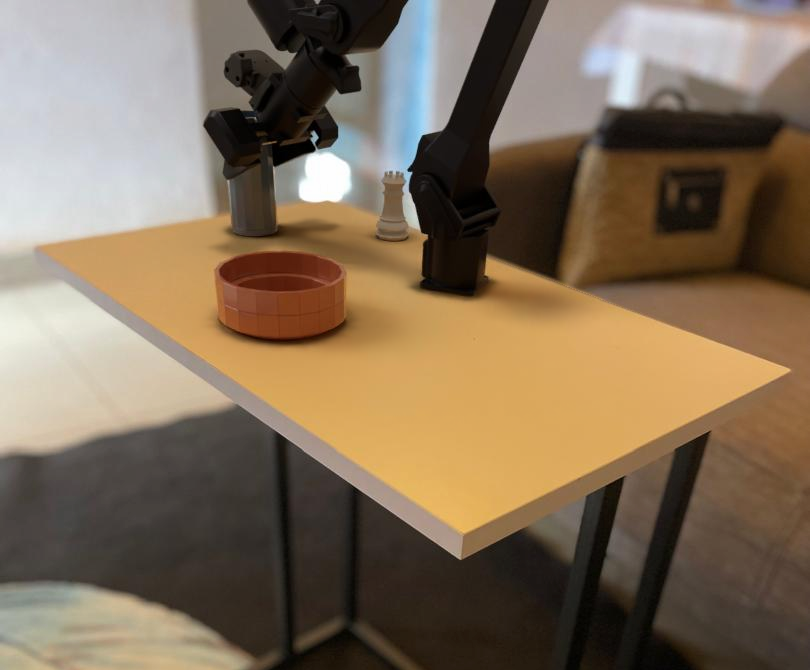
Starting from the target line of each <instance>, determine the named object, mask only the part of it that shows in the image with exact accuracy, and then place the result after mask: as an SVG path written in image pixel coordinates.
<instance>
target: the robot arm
mask: <svg viewBox="0 0 810 670" xmlns="http://www.w3.org/2000/svg"><path fill="white" fill-rule="evenodd" d="M246 1H247V2H246V3H247V5H248V7H249V9H250V11H251V13H253V15H254V17H255V18H256V20H257V22H258V23H259V25H260V26H261V28H262V29H263V31H264V32H265V34H266V36H267V38H268V39H269V41H270V42H271V44H272V45H273V47H274V48H275V50H277V51H278V52H286V51H287V52H288V53H289V54H295V55H294V56H293V58H292V59H291V60H290V62H289V63H288V65H287V66H286V68H284V67H283V66H281V65H280V64H279V63H278V62H277V61H276V60H274V58H272V57H271V56H270V55H269V54H268V53H266V52H265V51H263V50H261V49H246V50H237V51H236V52H231V53H230V55H229V57H228V58H227V60H225V61H224V68H223V75H224V78H225V79H226V80H227V82H229V83H231V84H232V86H233V87H235V88H241V89H242V90H243V91H244V92H245V93H247V95H249V96H250V99H249V100H248V104H249V106H250V107H251V110H254V111H257V112H258V116H256V117H255V118H254V120H255V121H256V123H252V124H249V122H248V121H247V119H246V118H245V116H244V115H243V113H242V111H241V110H242V109H240V108H239V107H235V106H229V107H222V108H214V109H210V111H209V112H208V114H207V115H206V117H205V118H204V120H203V123H202V127H203V128H204V129H205V131H206V133H207V134H208V136H209V137H210V139H211V141H212V142H213V144H214V145H215V147H216V149H217V150H218V152H219V153H220V154H221V156H222V158H223V159H224V160H223V167H222V175H223V177H224V178H225V180H226V181H227V180H230V179H232V178H234V177H236V176H238V175H240V174H242V173H244V172H245V171H247V170H249V169H251V168H253V167H255V166H257V165H259V164H261V161H260V159H259V158H258V157H259V155H260V154H261V150H262V148H263V145H265V144H271V143H273V154H274V169H275V168H278V167H280V166H282V165H285V164H287V163H290V162H292V161H296V160H297V159H300V158H303V157H305V156H308V155H310V154H313V153H315V152H316V151H317V150H318V151H319V150H323V149H329V148H332V146H333V145H334V144H335V142H337V140H338V139H339V125H338V123H337V122H336V121H335V119H334V118H333V116H332V114H331V112H330V111H329V110H328V108H327V106H326V105H327V103H328V102H329V101H330V100H331V98H333V96H334V94H335V93H336V92H337V93H338V94H339V95H348V94H354V93H360V92H361V91H362V79H361V76H360V66H359V65H356V64H355V65H354V64H352V63H351V62H350V60H349V58H348V56H347V55H358V54H366V53H374V52H377V51H378V50H380V49H381V48H382V47H383V45H385V44H386V41H387V40H388V39H389V37H390V36H391V34H392V33H393V32H394V31H395V29H396V27H397V26H398V25H399V22H400V19H401V16H402V12H403V10H404V8H405V7H406V5H407V4H408V3H409V1H410V0H319V1H318V3H317V2H316V0H246ZM549 1H550V0H494V3H493V5H492V8H491V10H490V12H489V15H488V18H487V21H486V23H485V26H484V29H483V31H482V34H481V36H480V39H479V42H478V44H477V46H476V49H475V52H474V54H473V57H472V60H471V62H470V65H469V67H468V70H467V72H466V75H465V78H464V81H463V82H462V85H461V87H460V91H459V93H458V96H457V98H456V101H455V102H454V106H453V109H452V111H451V114H450V116H449V119H448V121H447V123H446V125H445V126H444V128H443V129H442V130H438V131H434V132H429V133H424V134H422V135H421V137H420V139H419V141H418V144H417V148H416V152H415V156H414V159H413V161H412V163H411V164H410V165H409V166H408V167H407V169H406V171H407V173H411V175H410V177H409V181H408V193H409V194H410V196H411V199H412V203H413V204H414V208H415V213H416V216H417V221H418V225H419V229H420V233H421V234H423V235H425V236H426V235H427V238H426V239H425V240H423V242H422V254H421V255H422V256H421V257H422V258H421V277H422V278H423V279H421V280H420V281H419V287H420V288H424V289H430V290H435V291H441V292H447V293H451V294H457V295H464V296H471V297H472V296H474V295H475V294H476V293H477V292H478V291H480V289H481V288H483V286H484V285H486V284H487V283H488V282H489V280H490V276H489V275H486V265H487V254H488V247H489V246H488V245H489V236H490V235H489V234H490V230H489V229H488V228H492V227H495V226H496V225H497V223H498V220H499V217H500V215H501V213H502V208H501V206H500V204H499V203H498V201H497V200H496V198H495V196H494V195H493V193H492V192H491V191H490V189H489V187H488V186H487V184H486V180H487V178H488V177H487V176H488V173H489V169H490V166H491V165H490V164H491V162H490V161H491V159H490V158H491V157H490V141H491V138H492V134H493V132H494V130H495V127H496V125H497V123H498V121H499V118H500V116H501V113H502V111H503V109H504V107H505V104H506V102H507V100H508V97H509V95H510V93H511V90H512V88H513V85H514V83H515V80H516V78H517V76H518V74H519V72H520V69H521V67H522V64H523V62H524V60H525V58H526V55H527V53H528V51H529V49H530V47H531V44H532V41H533V40H534V37H535V34H536V33H537V29H538V27H539V25H540V23H541V20H542V18H543V16H544V13H545V12H546V8H547V6H548V4H549ZM313 133H315V135H316V136H317V139H316V140H315V142H313V141H312V140H313V138H314V135H313Z"/></svg>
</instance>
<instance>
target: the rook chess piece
mask: <svg viewBox="0 0 810 670" xmlns="http://www.w3.org/2000/svg"><path fill="white" fill-rule="evenodd" d="M383 174H384V176H383V177H382V179H381V183H382V184H383V186H384V190H383V191H382V195H383V206H382V211H381V215H379V219H378V220H377V223H376V228H377V229H376V231H375V235H376V236H377V237H378V238H379V239H380V240H384V241H390V242H391V241H392V242H397V241H403V240H405V239H407V237H409V234H410V233H409V231H407V230H408V229H409V223H408V221H407V220H406V216H405V213H404V205H403V203H404V202H403V197H404V195H405V192H404V190H403V189H404V186H405V185H406V184H407V180H406V179H405V173H404V172H403V171H400V170H396V171H395V173H394V170H388V171H384V173H383Z"/></svg>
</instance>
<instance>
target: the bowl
mask: <svg viewBox="0 0 810 670" xmlns="http://www.w3.org/2000/svg"><path fill="white" fill-rule="evenodd" d="M213 272H214V284H215V285H214V286H215V297H216V306H217V307H216V309H217V316H218V320H219V321H220V322H221V323H222V324H224V326H226V327H228V328H230V329H232V330H234V331H236V332H238V333H241V334H243V335H246V336H250V337H254V338H258V339H265V340H266V339H267V340H280V341H281V340H284V341H285V340H298V339H305V338H310V337H316V336H318V335H322V334H324V333H326V332H328V331H331V330H332V329H335V328H336V327H338V326H339V325H341V324H342V323H343V322H344V321H345V319H346V317H347V311H348V310H347V309H348V308H347V307H348V306H347V305H348V303H347V302H348V301H347V300H348V299H347V290H348V289H347V288H348V286H347V285H348V284H347V282H348V281H347V280H348V279H347V278H348V277H347V276H348V275H347V274H348V273H347V270H346V268H345V267H344V265H343V264H342V263H340V262H338V261H337V260H335V259H333V258H330V257H327V256H325V255H321V254H317V253H310V252H304V251H293V250H262V251H255V252H250V253H249V252H248V253H243V254H238V255H235V256H231V257H229V258H227V259H225V260H223V261H220V262H219V263H218V264H217V265H216V267H215V268H214V269H213Z"/></svg>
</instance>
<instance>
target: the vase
mask: <svg viewBox="0 0 810 670" xmlns="http://www.w3.org/2000/svg"><path fill="white" fill-rule="evenodd" d="M240 110H241V111H242V113H243V115H244V116H245V118H246V119H247V121H248V122H249V124H252V123H256V121H255V120H254V118H255V117H256V116H258V112H257V111H254V110H253V109H240ZM258 158H259V159H260V161H261V164H259V165H257V166H255V167H253V168H251V169H249V170H247V171H245V172H244V173H242V174H240V175H238V176H236V177H234V178H232V179H230V180H226V182H227V193H228V194H227V195H228V203H229V214H230V225H231V231H232V233H234V234H236V235H240V236H245V237H264V236H269V235H272V234H275V233H276V232H278V227H279V226H278V222H279V221H278V207H277V206H278V205H277V189H276V174H275V168H274V154H273V143H271V144H265V145H263V148H262V150H261V154H260V155H259V157H258Z"/></svg>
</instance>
